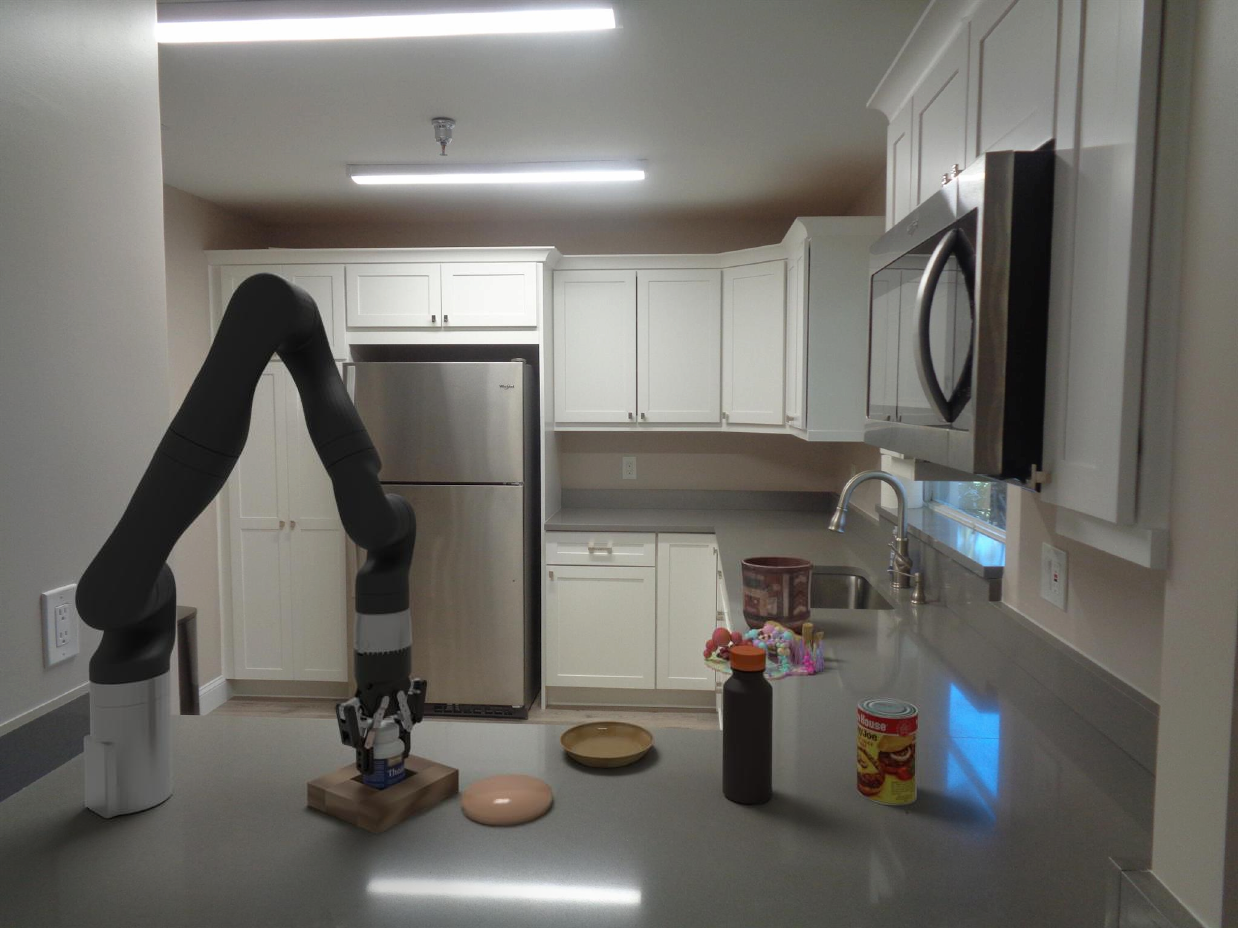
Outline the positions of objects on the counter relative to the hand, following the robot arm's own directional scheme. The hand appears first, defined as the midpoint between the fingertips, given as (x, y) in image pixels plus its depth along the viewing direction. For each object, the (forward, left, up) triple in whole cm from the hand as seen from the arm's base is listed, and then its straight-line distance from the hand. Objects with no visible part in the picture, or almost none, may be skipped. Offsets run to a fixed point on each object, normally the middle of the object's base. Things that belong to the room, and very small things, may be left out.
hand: (384, 764), depth 105 cm
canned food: (+39, -57, -5) cm, 69 cm away
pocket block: (0, 0, -5) cm, 5 cm away
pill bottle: (0, 0, -5) cm, 5 cm away
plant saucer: (+29, -17, -5) cm, 34 cm away
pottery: (+115, -11, -5) cm, 115 cm away
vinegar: (+28, -41, -5) cm, 50 cm away
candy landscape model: (+88, -20, -5) cm, 90 cm away
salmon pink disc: (+8, -15, -5) cm, 18 cm away
